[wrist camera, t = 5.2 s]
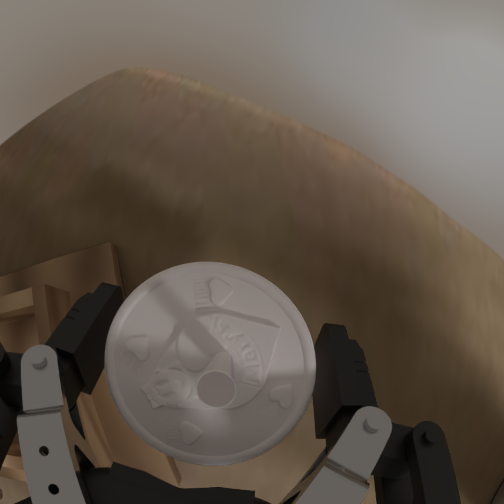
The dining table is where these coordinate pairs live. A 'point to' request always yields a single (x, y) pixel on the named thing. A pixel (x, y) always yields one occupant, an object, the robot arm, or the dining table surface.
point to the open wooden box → (39, 331)
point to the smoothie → (210, 363)
